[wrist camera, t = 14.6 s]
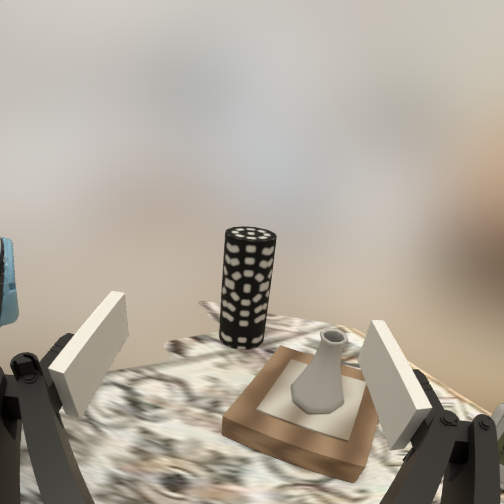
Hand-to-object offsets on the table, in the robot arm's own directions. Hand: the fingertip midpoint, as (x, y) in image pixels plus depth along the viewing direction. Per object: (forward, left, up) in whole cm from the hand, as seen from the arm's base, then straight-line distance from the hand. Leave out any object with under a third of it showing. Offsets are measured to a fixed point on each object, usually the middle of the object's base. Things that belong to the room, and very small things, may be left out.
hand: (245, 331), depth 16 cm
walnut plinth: (+2, +19, -25) cm, 31 cm away
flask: (+2, +19, -21) cm, 28 cm away
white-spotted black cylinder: (-16, +32, -25) cm, 44 cm away
